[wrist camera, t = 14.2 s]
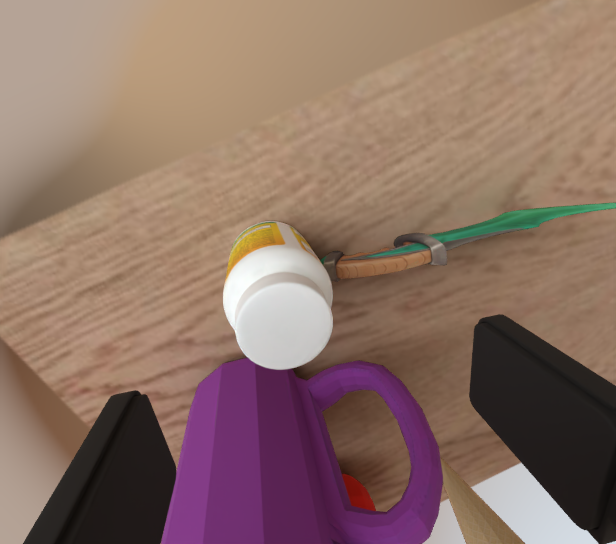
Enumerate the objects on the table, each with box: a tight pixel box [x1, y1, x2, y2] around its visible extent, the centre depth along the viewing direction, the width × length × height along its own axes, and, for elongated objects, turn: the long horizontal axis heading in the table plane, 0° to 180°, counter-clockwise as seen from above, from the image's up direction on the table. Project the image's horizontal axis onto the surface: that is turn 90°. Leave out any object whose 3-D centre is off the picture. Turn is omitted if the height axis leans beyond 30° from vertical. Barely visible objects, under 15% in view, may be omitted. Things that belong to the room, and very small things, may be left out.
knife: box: [320, 203, 616, 282], centre depth 21 cm, size 21×2×5 cm, turn 102°
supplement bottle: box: [223, 221, 333, 370], centre depth 17 cm, size 5×5×10 cm
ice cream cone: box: [440, 457, 525, 544], centre depth 24 cm, size 6×6×15 cm
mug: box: [161, 357, 443, 544], centre depth 18 cm, size 9×16×15 cm, turn 115°
